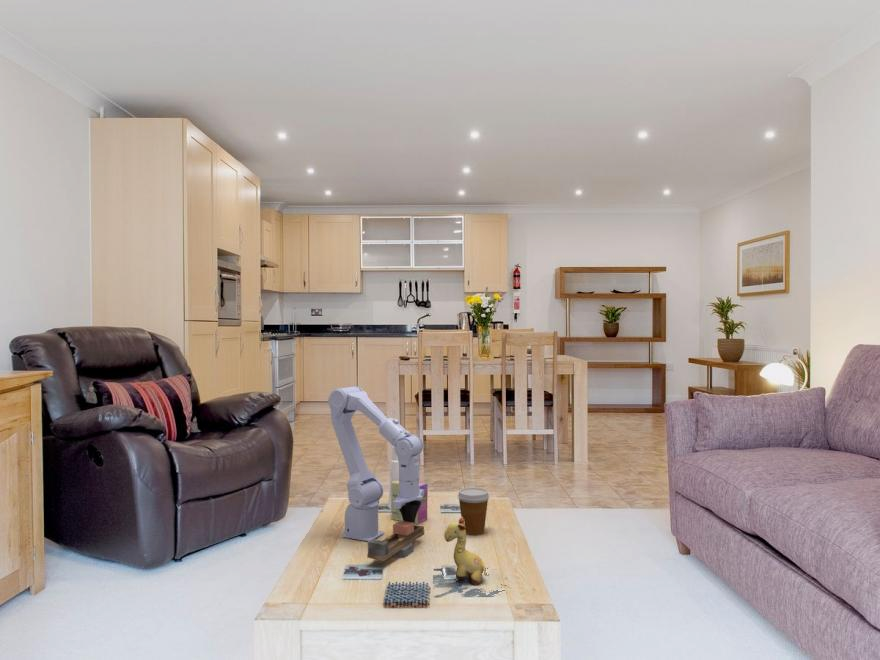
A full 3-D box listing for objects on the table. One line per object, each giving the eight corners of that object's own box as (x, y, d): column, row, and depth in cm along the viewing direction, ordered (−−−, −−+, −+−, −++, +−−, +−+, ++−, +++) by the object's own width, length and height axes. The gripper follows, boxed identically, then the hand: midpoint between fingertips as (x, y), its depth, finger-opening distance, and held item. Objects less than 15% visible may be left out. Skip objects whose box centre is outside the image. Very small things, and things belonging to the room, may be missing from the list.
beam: (364, 564, 154) (364, 541, 155) (406, 538, 174) (406, 517, 174) (387, 569, 151) (387, 545, 151) (427, 541, 171) (427, 520, 171)
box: (428, 520, 191) (427, 482, 191) (417, 525, 186) (417, 486, 186) (401, 514, 197) (401, 478, 197) (390, 519, 192) (390, 482, 192)
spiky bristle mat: (381, 610, 130) (381, 601, 130) (386, 589, 141) (386, 580, 141) (430, 610, 130) (429, 601, 130) (430, 589, 141) (430, 580, 141)
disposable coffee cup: (453, 534, 177) (452, 494, 177) (464, 525, 186) (463, 486, 186) (483, 539, 173) (483, 497, 173) (493, 528, 182) (493, 489, 182)
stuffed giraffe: (433, 569, 152) (434, 507, 151) (504, 571, 152) (506, 508, 151) (433, 600, 136) (435, 530, 135) (512, 602, 136) (515, 532, 135)
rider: (392, 538, 165) (392, 524, 165) (400, 533, 169) (400, 520, 169) (406, 540, 163) (406, 526, 163) (414, 536, 167) (413, 522, 167)
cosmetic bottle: (408, 506, 206) (407, 442, 206) (401, 511, 200) (401, 445, 200) (391, 504, 208) (391, 441, 208) (384, 509, 202) (384, 444, 202)
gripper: (409, 486, 161) (409, 537, 160) (433, 475, 174) (433, 522, 174) (386, 484, 164) (386, 534, 164) (411, 472, 177) (411, 518, 177)
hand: (409, 527), depth 169 cm, fingers closed
